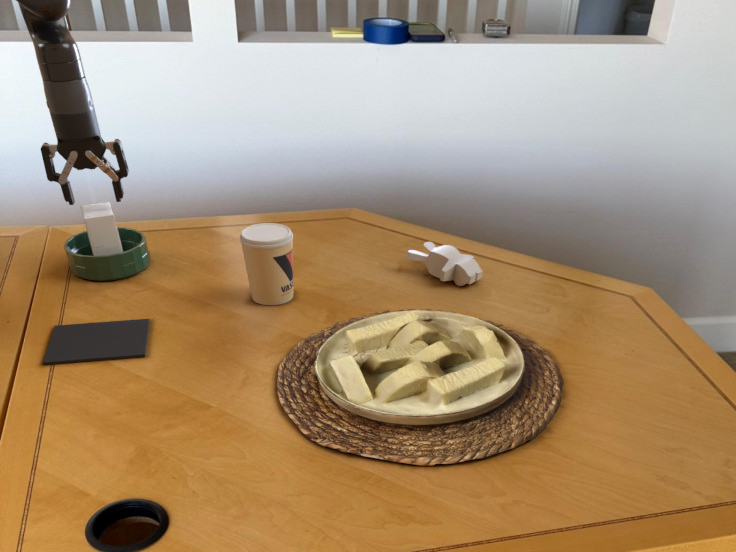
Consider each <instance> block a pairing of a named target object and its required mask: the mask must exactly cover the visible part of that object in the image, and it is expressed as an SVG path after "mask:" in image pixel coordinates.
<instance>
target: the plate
mask: <svg viewBox="0 0 736 552" xmlns="http://www.w3.org/2000/svg"><path fill="white" fill-rule="evenodd" d="M275 383H276V388H277V390H276V392H277V396H278V400H279V403H280V406H281V407H282V408H283V410H284V412H285V413H286V415H287V416H288V417H289V418H290V420H291V421H292V422H293V423H294V424H295V425H296V427H297V428H298V429H299V430H300V432H302V433H303V435H304V436H306V437H307V438H308V439H309V440H310V441H313V442H316V443H317V444H318V445H320V446H323V447H326V448H329V449H335V450H338V451H340V452H343V453H350V454H354V455H358V456H362V457H367V458H372V459H373V458H374V459H379V460H383V461H384V460H385V461H390V462H396V463H403V464H408V465H409V464H410V465H416V466H427V467H428V466H429V467H430V466H435V465H436V464H437V465H440V464H443V465H448V464H450V465H451V464H458V463H462V462H465V461H466V462H467V461H471V460H480V459H484V458H488V457H490V456H494V455H496V454H500V453H502V452H505V451H508V450H511V449H514V448H517V447H518V446H520V445H523V444H525V443H526V442H528V441H532V440H533V439H535V438H537V436H539V435H540V434H541V433H542V432H543V431H544V430H545V429H547V427H548V425H549V423H550V422H551V421H552V420H553V419H554V416H555V414H556V413H557V412H558V411H559V408H560V406H561V402H562V392H563V390H564V378H563V374H562V372H561V368H560V366H559V365H558V363H556V362H555V361H554V359H553V358H552V355H550V353H549V352H548V351H547V350H545V349H544V348H543V347H541V346H540V345H538V344H537V343H536V342H535V341H533V340H531V339H530V338H529V337H528V336H526V335H525V334H524V333H521V332H519V331H517V330H515V329H513V328H511V327H509V326H505V325H504V324H502V323H497V322H495V321H492V320H490V319H489V320H484V319H482V318H477V317H474V316H470V315H467V314H464V313H459V312H455V311H447V310H442V309H430V308H419V309H416V308H409V309H395V310H388V309H387V310H384V311H381V312H372V313H370V314H368V315H367V314H364V315H363V314H362V315H360V316H358V317H351V318H349V319H346V320H342V321H338V322H335V323H333V324H332V325H331V326H328V327H326V328H324V329H322V330H320V331H319V332H315V333H312V334H311V335H309V336H306V337H305V338H304V339H301V340H299V342H298V343H296V344H295V345H294V346H293V347H292V348H291V349H290V351H289V352H288V353H287V355H285V356H284V357H283V359H282V360H281V361H280V363H279V366H278V370H277V380H276V382H275Z"/></svg>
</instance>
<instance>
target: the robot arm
mask: <svg viewBox="0 0 736 552" xmlns="http://www.w3.org/2000/svg"><path fill="white" fill-rule="evenodd" d="M15 1H16V2H17V4H18V7H19V10H20V13H21V15H22V18H23V21H24V24H25V26H26V28H27V31H28V34H29V36H30V39H31V41H32V44H33V48H34V53H35V57H36V62H37V65H38V68H39V72H40V76H41V80H42V84H43V91H44V96H45V100H46V101H45V102H46V106H47V109H48V111H49V115H50V119H51V122H52V126H53V130H54V133H55V137H56V140H57V141H56V142H57V143H56V144H50V143H48V142H43V143H42V145H41V146H40V153H41V157H42V162H43V166H44V171H45V175H46V179H47V181H48V182H50V183H51V182H55V183H58V184H59V186H60V189H61V192H62V195H63V199H64V201H65V202H66V203H68V205H69V206H74V205H75V203H76V200H75V196H74V192H73V189H72V185H71V181H70V180H68V178H69V176H70V174H71V171H72V170H73V169H75V170H77V171H83V170H85V169H87V170H96V169H97V168H98V169H99V170H100V171H101V172H103V173H104V174H106V175H107V176H108V177H109V178H110V179H111V180H112V181H111V185H112V190H113V194H114V197H115V200H116V203H121V202H122V199H124V193H125V192H124V189H123V184H122V179H124V178H128V176H129V172H130V169H129V165H128V162H127V158H126V155H125V151H124V148H123V144H122V140H120V139H119V138H115V139H113V140H112V141H105V140H104V139H103V137H102V133H101V130H100V125H99V122H98V118H97V114H96V109H95V104H94V100H93V97H92V92H91V89H90V85H89V83H88V80H87V77H86V73H85V70H84V69H85V68H84V65H83V61H82V57H81V52H80V50H79V46H78V44H77V42H76V40H75V39H74V37H73V36H72V33H71V31H70V29H69V25H68V20H67V17H66V16H67V15H68V13H69V12H70V9H71V2H72V1H71V0H15ZM107 150H108V151H110V153H111V155H113V156H115V159H116V162H117V165H118V168H119V169H116V168H115V167H114V166H113V165H112V163H111V162H110V161H109V159H108V158H106V157H105V154H106V151H107ZM56 152H57V153H58V154H59V155H60V156H61V157H62V158H63V159H64V160H65V161H66V162H65V164H64V166H63V169H62V171H61V173H59V172H56V167H55V163H54V158H55V157H56Z"/></svg>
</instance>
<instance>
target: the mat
mask: <svg viewBox="0 0 736 552" xmlns="http://www.w3.org/2000/svg"><path fill="white" fill-rule="evenodd" d="M150 322H151V319H150V318H140V319H126V320H125V319H123V320H112V321H99V322H85V323H84V322H83V323H72V324H59V325H58V324H57V325H54V326H53V330H52V332H51V336H50V338H49V342H48V345H47V348H46V351H45V354H44V358H43V361H42V364H43V366H49V365H61V364H73V363H86V362H87V363H88V362H99V361H100V362H101V361H111V360H123V359H125V360H126V359H137V358H145V357H146V354H147V346H148V338H149V331H150V324H151V323H150Z"/></svg>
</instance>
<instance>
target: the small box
mask: <svg viewBox="0 0 736 552" xmlns="http://www.w3.org/2000/svg"><path fill="white" fill-rule="evenodd" d="M80 210H81V214H82V218H83V221H84V226H85V229H86V231H87V233H88V237H89V241H90V244H91V248H92V252H93V255H94V256H103V255H111V254H117V253H121V252H123V249H122V245H121V241H120V237H119V233H118V229H117V227H118V225H117V220H116V217H115V213H114V211H113V210H114V209H113V208H112V205H111V202H108V201H107V202H99V203H90V204H81V205H80Z"/></svg>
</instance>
